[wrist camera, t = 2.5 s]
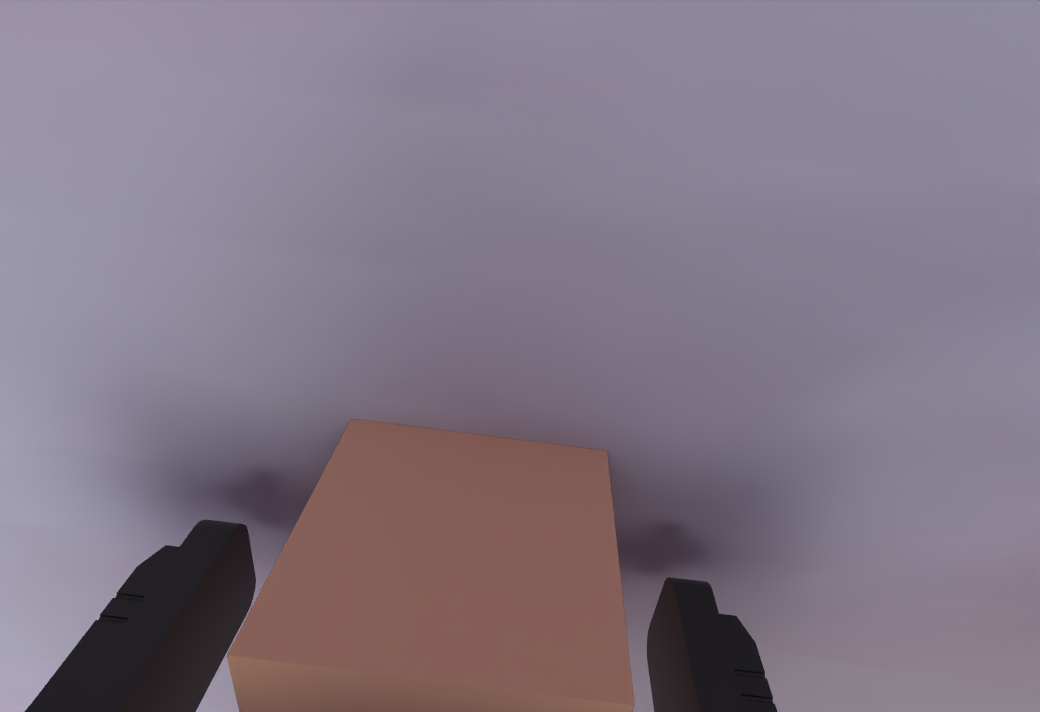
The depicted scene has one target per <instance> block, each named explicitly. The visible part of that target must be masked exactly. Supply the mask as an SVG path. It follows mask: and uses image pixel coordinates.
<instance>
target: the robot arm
mask: <svg viewBox="0 0 1040 712" xmlns="http://www.w3.org/2000/svg"><path fill="white" fill-rule="evenodd" d="M255 584H256V577H255V571H254V565H253V559H252V553H251V547H250V541H249V535H248V530H247V527H246V526H245V525H244V524H237V523H229V522H221V521H212V520H202V521H200V522H199V523H197V524H196V526H195V527H194V528H193V529H192V531H191V532H190V533H189V535H188V536H187V538H186V539H185V540H184V542H183V543H182V545H181V546H180V547H176V546H168V545H166V546H164V547H163V548H162V549H160V550H159V551H158V552H156V553H155V554H153V555H152V556H151V557H149V558H148V559H147V560H145V561H144V562H143V563H141V564H140V565H139V566H137V568H136V569H135V570H134V571H133V573H132V574H131V575H130V577H129V578H128V579H127V580H126V582H125V583H124V584H123V586H122V587H121V588H120V590H119V591H118V592H117V596H116V598H113V599H112V600H111V601H110V602H109V604H108V605H107V606H106V608H105V609H104V610H103V612H102V613H101V614H100V618H99V620H96V621H95V622H94V623H93V625H92V626H91V627H90V628H89V630H88V631H87V632H86V634H85V635H84V636H83V637H82V639H81V640H80V641H79V643H78V644H77V645H76V647H75V648H74V649H73V650H72V652H71V653H70V654H69V656H68V657H67V658H66V660H65V661H64V662H63V663H62V665H61V666H60V667H59V669H58V670H57V671H56V672H55V674H54V675H53V676H52V678H51V679H50V680H49V682H48V683H47V684H46V685H45V687H44V688H43V689H42V691H41V692H40V693H39V695H38V696H37V697H36V698H35V700H34V701H33V702H32V704H31V705H30V706H29V707H28V708H27V709H26V711H25V712H196V710H197V708H198V706H199V704H200V702H201V700H202V698H203V696H204V694H205V693H206V691H207V689H208V687H209V685H210V683H211V681H212V679H213V677H214V675H215V673H216V672H217V670H218V668H219V666H220V664H221V662H222V660H223V658H224V656H225V654H226V653H227V651H228V649H229V647H230V645H231V643H232V641H233V639H234V637H235V635H236V633H237V632H238V630H239V628H240V626H241V624H242V622H243V620H244V618H245V616H246V614H247V612H248V610H249V608H250V606H251V603H252V600H253V596H254V591H255ZM647 660H648V668H649V675H650V683H651V690H652V697H653V704H654V711H655V712H777V709H776V706H775V704H773V701H772V699H773V697H772V693H771V690H770V687H769V684H768V681H767V679H765V671H764V668H763V665H762V662H761V659H760V656H759V652H758V649H757V646H756V643H755V642H754V640H753V639H752V637H751V636H750V635H749V633H748V632H747V630H746V629H745V628H744V626H743V625H742V623H741V622H740V621H739V619H738V618H737V616H733V615H724V614H719V613H718V609H717V605H716V602H715V598H714V594H713V591H712V588H711V586H710V584H709V583H708V582H703V581H695V580H687V579H678V578H670V577H668V578H667V579H666V580H665V582H664V585H663V588H662V591H661V594H660V597H659V600H658V603H657V606H656V609H655V612H654V614H653V617H652V620H651V623H650V627H649V631H648V638H647Z"/></svg>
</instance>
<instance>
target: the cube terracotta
mask: <svg viewBox="0 0 1040 712" xmlns="http://www.w3.org/2000/svg"><path fill="white" fill-rule="evenodd" d="M227 658H228V663H229V667H230V672H231V676H232V681H233V685H234V689H235V694H236V698H237V703H238V707H239V712H632V711H633V709H634V706H635V704H634V695H633V686H632V677H631V667H630V658H629V649H628V640H627V630H626V621H625V612H624V603H623V593H622V584H621V575H620V566H619V556H618V547H617V538H616V529H615V519H614V510H613V501H612V492H611V482H610V473H609V464H608V455H607V451H605V450H597V449H589V448H581V447H573V446H565V445H557V444H549V443H541V442H533V441H525V440H517V439H509V438H501V437H493V436H485V435H477V434H469V433H461V432H453V431H445V430H437V429H429V428H421V427H413V426H405V425H397V424H389V423H381V422H373V421H365V420H357V419H351V420H350V422H349V424H348V426H347V428H346V430H345V432H344V434H343V435H342V437H341V439H340V441H339V443H338V445H337V447H336V449H335V451H334V453H333V454H332V456H331V458H330V460H329V462H328V464H327V466H326V468H325V470H324V472H323V473H322V475H321V477H320V479H319V481H318V483H317V485H316V487H315V489H314V491H313V492H312V494H311V496H310V498H309V500H308V502H307V504H306V506H305V508H304V510H303V511H302V513H301V515H300V517H299V519H298V521H297V523H296V525H295V527H294V529H293V530H292V532H291V534H290V536H289V538H288V540H287V542H286V544H285V546H284V548H283V549H282V551H281V553H280V555H279V557H278V559H277V561H276V563H275V565H274V567H273V568H272V570H271V572H270V574H269V576H268V578H267V580H266V582H265V584H264V586H263V587H262V589H261V591H260V593H259V595H258V597H257V599H256V601H255V603H254V605H253V606H252V608H251V610H250V612H249V614H248V616H247V618H246V620H245V622H244V624H243V626H242V627H241V629H240V631H239V633H238V635H237V637H236V639H235V641H234V643H233V645H232V646H231V648H230V650H229V652H228V654H227Z"/></svg>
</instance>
